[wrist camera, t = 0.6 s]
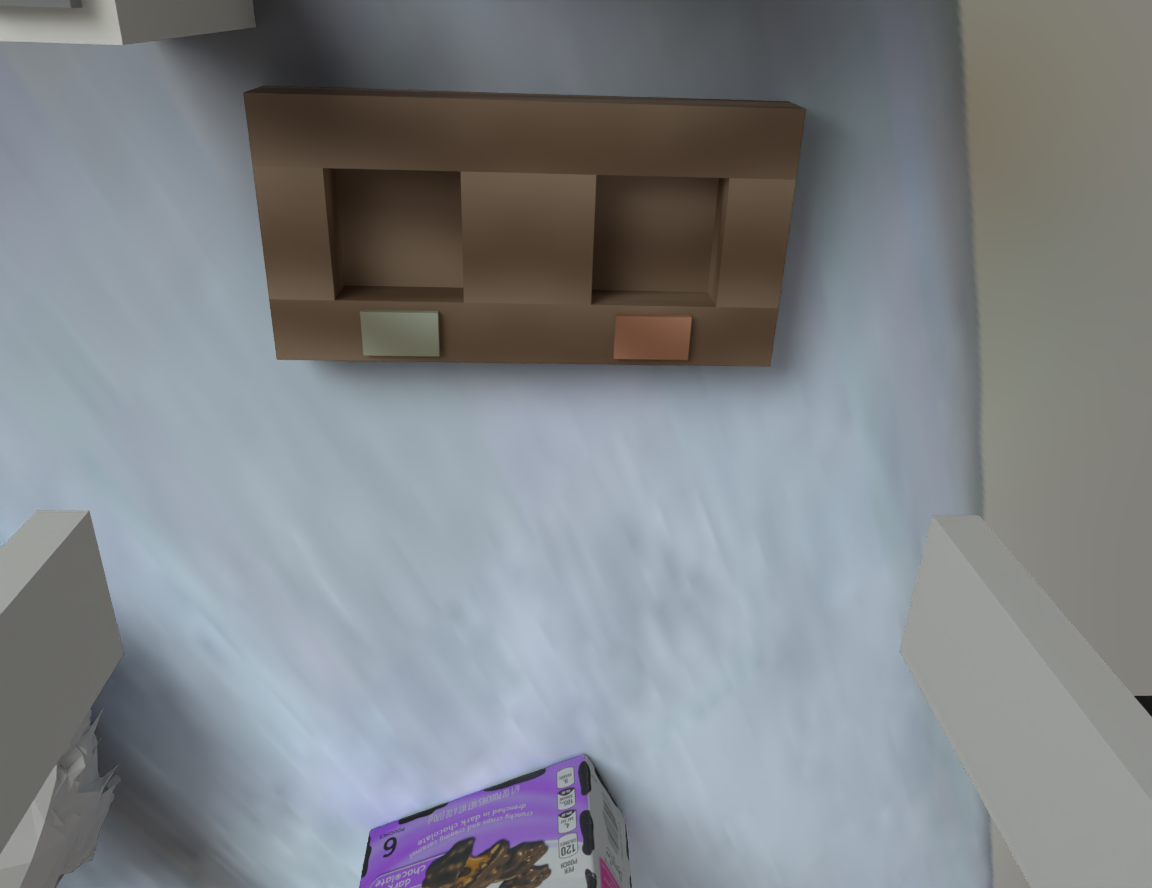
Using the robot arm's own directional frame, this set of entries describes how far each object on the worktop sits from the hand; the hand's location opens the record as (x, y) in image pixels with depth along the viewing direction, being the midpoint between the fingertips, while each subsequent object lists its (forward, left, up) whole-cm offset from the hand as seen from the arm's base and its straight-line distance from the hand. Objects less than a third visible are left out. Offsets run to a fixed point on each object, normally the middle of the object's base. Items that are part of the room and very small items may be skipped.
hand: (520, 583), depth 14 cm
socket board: (0, 0, -25) cm, 25 cm away
